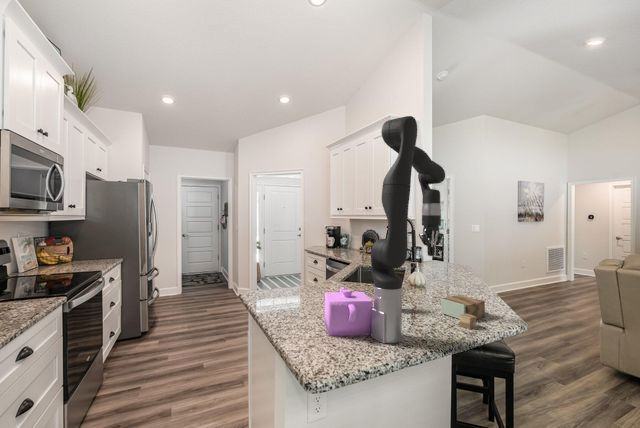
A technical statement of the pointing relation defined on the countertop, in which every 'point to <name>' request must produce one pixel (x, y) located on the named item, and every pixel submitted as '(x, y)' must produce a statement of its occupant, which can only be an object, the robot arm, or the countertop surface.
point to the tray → (452, 308)
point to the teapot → (347, 313)
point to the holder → (470, 305)
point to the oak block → (468, 321)
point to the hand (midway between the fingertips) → (431, 255)
